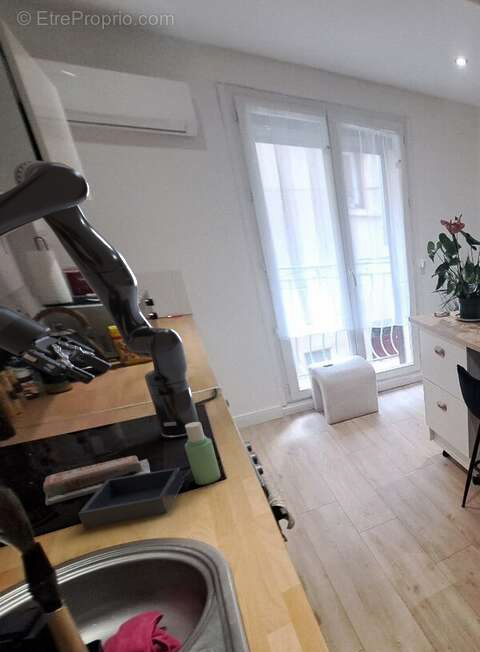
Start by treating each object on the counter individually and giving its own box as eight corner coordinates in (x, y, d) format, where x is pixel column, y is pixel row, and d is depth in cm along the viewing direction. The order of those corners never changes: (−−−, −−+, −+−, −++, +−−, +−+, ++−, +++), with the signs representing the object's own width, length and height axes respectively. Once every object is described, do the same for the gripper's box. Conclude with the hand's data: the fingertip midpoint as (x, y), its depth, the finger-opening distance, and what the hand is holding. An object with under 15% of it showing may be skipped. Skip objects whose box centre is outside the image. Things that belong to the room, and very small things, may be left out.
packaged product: (38, 490, 91) (41, 471, 97) (46, 508, 92) (49, 489, 99) (146, 461, 103) (143, 447, 109) (152, 478, 104) (148, 462, 111)
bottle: (198, 477, 106) (182, 421, 100) (223, 473, 108) (208, 418, 102) (193, 488, 101) (176, 430, 96) (218, 483, 103) (203, 427, 98)
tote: (112, 495, 97) (106, 479, 96) (184, 483, 103) (179, 467, 101) (85, 531, 86) (77, 513, 84) (167, 515, 92) (161, 498, 90)
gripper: (-2, 322, 78) (98, 371, 87) (40, 309, 90) (124, 354, 99) (-31, 351, 78) (72, 398, 87) (15, 334, 90) (102, 377, 99)
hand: (100, 374), depth 93 cm, fingers open, 8 cm apart
